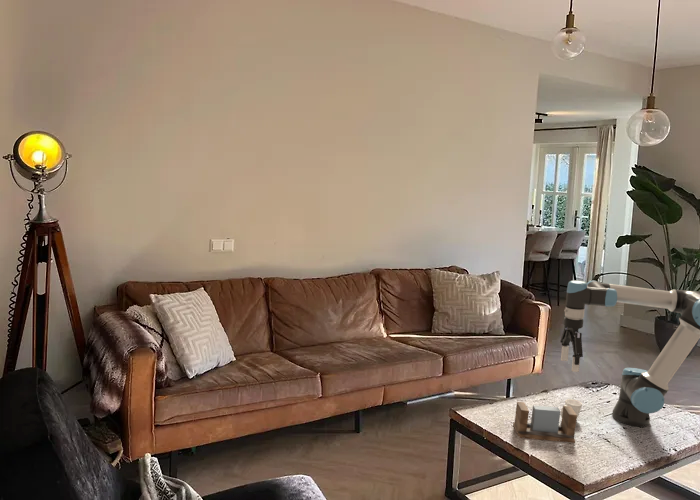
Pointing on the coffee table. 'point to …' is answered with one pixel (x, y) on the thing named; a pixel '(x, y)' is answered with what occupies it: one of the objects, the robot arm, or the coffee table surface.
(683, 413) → the coffee table surface
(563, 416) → the wooden u-shaped holder
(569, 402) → the cup
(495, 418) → the coffee table surface
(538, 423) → the gray rectangular block
